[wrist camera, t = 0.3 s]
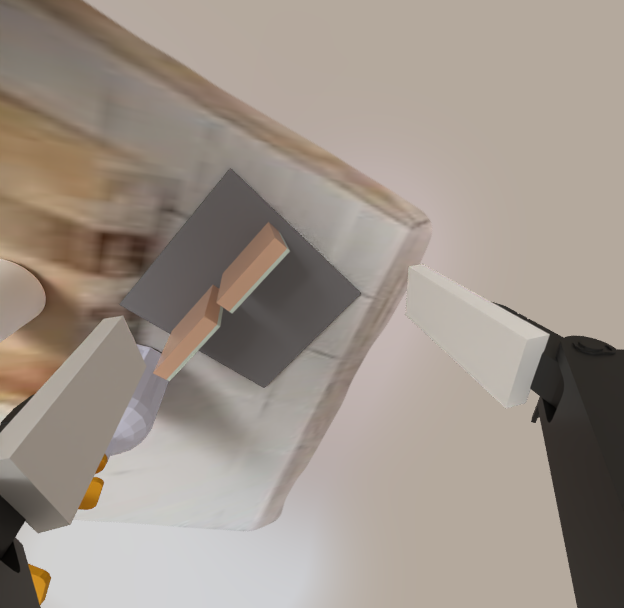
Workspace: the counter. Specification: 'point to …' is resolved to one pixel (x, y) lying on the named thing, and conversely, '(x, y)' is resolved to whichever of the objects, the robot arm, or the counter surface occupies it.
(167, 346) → the tile
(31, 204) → the counter surface
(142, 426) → the soap bottle
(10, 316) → the beverage can
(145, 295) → the mat
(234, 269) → the tile
